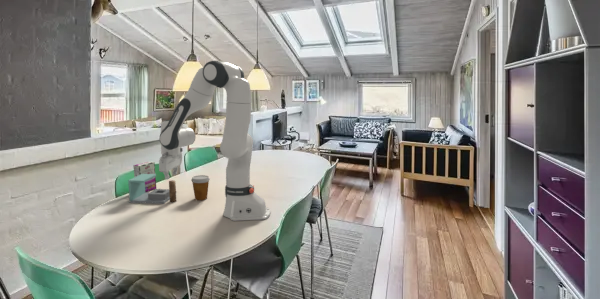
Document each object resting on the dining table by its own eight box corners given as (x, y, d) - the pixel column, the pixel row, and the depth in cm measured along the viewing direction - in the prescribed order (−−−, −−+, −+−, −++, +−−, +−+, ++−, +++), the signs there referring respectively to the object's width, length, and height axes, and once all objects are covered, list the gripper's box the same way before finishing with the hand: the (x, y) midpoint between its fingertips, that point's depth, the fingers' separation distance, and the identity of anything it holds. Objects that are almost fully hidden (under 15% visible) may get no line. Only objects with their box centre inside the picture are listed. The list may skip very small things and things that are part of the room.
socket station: (175, 195, 179) (174, 174, 177) (164, 203, 165) (162, 181, 163) (143, 194, 180) (142, 173, 178) (129, 202, 166) (128, 180, 164)
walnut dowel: (177, 200, 171) (176, 180, 169) (174, 202, 168) (173, 182, 166) (171, 200, 171) (170, 180, 169) (168, 202, 168) (167, 182, 166)
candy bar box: (150, 187, 193) (148, 161, 190) (156, 188, 191) (155, 162, 188) (134, 193, 182) (132, 164, 179) (141, 194, 180) (139, 165, 178)
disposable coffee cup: (213, 197, 176) (213, 176, 174) (200, 202, 169) (199, 180, 167) (202, 194, 181) (201, 174, 180) (188, 199, 174) (187, 177, 172)
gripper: (167, 154, 155) (168, 182, 157) (183, 147, 175) (184, 172, 177) (155, 154, 155) (156, 181, 157) (172, 147, 175) (173, 171, 177)
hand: (171, 176), depth 167 cm, fingers open, 8 cm apart
